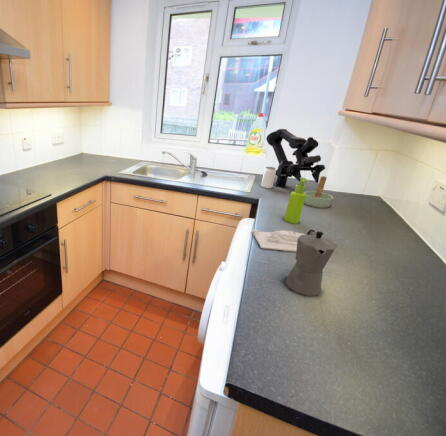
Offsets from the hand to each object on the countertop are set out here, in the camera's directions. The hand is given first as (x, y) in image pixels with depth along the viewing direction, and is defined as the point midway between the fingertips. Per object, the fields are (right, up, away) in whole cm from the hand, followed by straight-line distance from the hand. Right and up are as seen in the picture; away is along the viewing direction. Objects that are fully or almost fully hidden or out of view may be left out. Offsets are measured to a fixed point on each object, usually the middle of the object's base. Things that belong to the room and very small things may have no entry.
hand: (309, 182), depth 161 cm
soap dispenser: (-26, -21, -27) cm, 43 cm away
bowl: (0, -12, -4) cm, 13 cm away
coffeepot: (-49, -40, -72) cm, 96 cm away
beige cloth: (-40, -29, -47) cm, 68 cm away
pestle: (0, -11, -5) cm, 12 cm away
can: (-13, 0, +22) cm, 25 cm away
